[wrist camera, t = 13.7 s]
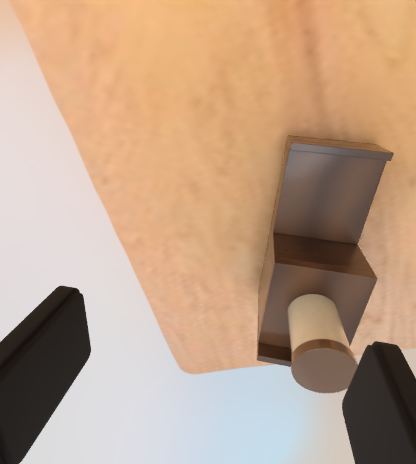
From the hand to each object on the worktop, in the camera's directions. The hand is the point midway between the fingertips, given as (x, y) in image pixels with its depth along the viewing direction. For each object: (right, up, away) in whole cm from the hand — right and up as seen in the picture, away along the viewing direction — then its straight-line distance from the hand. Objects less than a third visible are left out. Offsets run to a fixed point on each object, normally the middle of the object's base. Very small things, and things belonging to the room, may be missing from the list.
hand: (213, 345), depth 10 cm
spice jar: (+11, -5, +22) cm, 25 cm away
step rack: (+13, +5, +29) cm, 33 cm away
